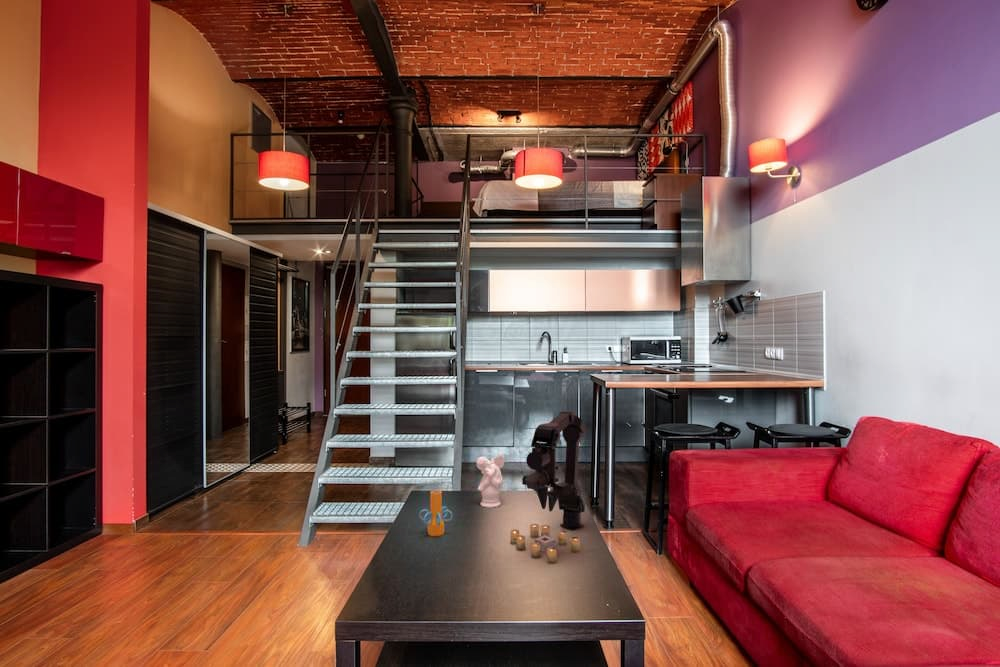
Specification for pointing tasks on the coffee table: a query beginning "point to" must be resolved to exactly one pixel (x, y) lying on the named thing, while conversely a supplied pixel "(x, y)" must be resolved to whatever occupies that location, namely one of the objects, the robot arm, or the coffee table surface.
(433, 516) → the orange column with rings
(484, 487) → the cherub figurine
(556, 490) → the robot arm
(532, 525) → the spacers
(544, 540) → the zinc nut
